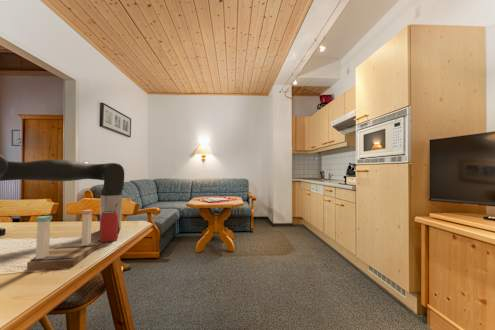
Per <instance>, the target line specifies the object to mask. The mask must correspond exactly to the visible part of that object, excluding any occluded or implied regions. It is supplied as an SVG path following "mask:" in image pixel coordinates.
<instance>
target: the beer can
mask: <svg viewBox="0 0 495 330" xmlns="http://www.w3.org/2000/svg"><path fill="white" fill-rule="evenodd" d="M118 235H119V234H118V214H117V211H104V212H102V214H101V217H100V216H99V242H102V243H109V242H114V241H116V240H118V238H119V236H118Z"/></svg>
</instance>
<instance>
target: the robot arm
mask: <svg viewBox="0 0 495 330" xmlns="http://www.w3.org/2000/svg"><path fill="white" fill-rule="evenodd" d="M16 180H17V181H19V180H23V181H24V180H25V181H40V182H41V181H44V182H45V181H48V182H69V181H70V182H71V181H81V180H99V181H103V187H102V188H101V189H100V207H99V209H100V210H99V218H100V217H101V214H102V212H104V211H114V210H116V211H117V214H118V222H119V227H120V230H121V229H122V207H123V206H122V204H123V203H122V198H123V196H122V195H123V191H124V185H125V169H124V167H123V165H121V164H120V163H117V162H108V163H107V162H106V163H85V162H81V161H80V162H79V161H74V160H66V159H42V160H33V161H12V160H11V161H9V160H8V159H7V158H6V157H5V156H3V155H1V154H0V181H1V182H2V181H3V182H4V181H16ZM117 202H118V204H119V205H118V204H117ZM115 204H117V206H116V209H115ZM5 235H6V228H5V227H0V237H2V236H3V237H4V236H5Z"/></svg>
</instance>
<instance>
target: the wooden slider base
mask: <svg viewBox="0 0 495 330" xmlns="http://www.w3.org/2000/svg"><path fill="white" fill-rule="evenodd" d="M98 248H99V243H98V242H91V243H90V244H89V245H87V246H82V243H69V244H59V245H57V246H55V247H54V248H52V249H50V250H49V256H47V257H45V258H43V259H36V256H35V257H33V258H31V259H30V261H28V262H27V264H26V270H27V271H28V270H40V269H56V268H73V267H75V266H76V265H78V263H80V262H82V261H83V260H85V258H87V257H88V256H90V255H91V254H92V253H93V252H95V251H96V250H97V249H98Z"/></svg>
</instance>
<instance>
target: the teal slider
mask: <svg viewBox="0 0 495 330" xmlns="http://www.w3.org/2000/svg"><path fill="white" fill-rule="evenodd" d="M52 220H53V215H42V216H37V217H35V223H36V224H37V225H36V248H35V257H36V259H43V258H45V257H47V256H49V251H50V238H51V237H50V236H51V221H52Z"/></svg>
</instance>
